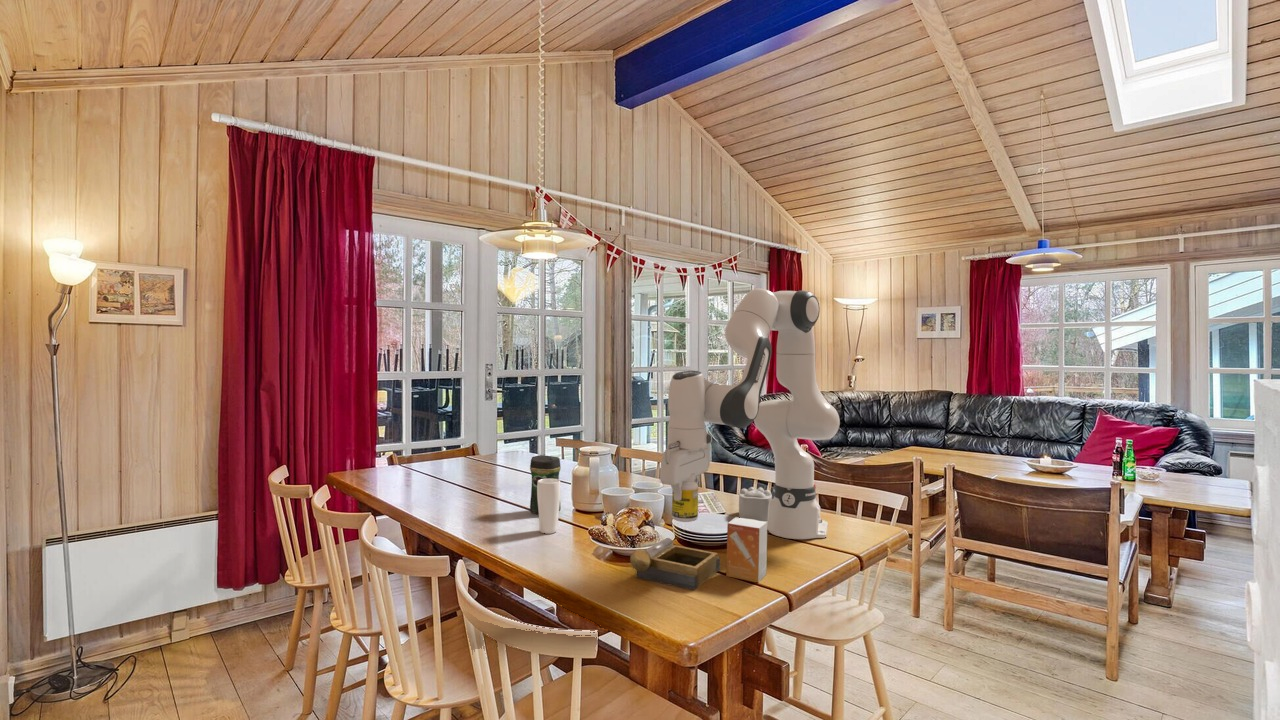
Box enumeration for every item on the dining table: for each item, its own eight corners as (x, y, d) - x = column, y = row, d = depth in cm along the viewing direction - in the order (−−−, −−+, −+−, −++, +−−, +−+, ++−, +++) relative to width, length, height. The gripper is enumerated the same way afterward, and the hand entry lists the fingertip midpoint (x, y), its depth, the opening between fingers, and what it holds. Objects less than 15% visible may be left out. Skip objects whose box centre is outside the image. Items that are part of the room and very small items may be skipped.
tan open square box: (662, 557, 160) (662, 531, 160) (719, 569, 152) (720, 541, 152) (630, 578, 146) (630, 548, 146) (691, 592, 138) (692, 561, 138)
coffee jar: (564, 511, 204) (564, 455, 204) (550, 517, 197) (551, 459, 197) (540, 507, 208) (540, 452, 208) (525, 513, 201) (526, 456, 201)
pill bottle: (667, 519, 148) (667, 473, 147) (679, 514, 153) (680, 469, 153) (690, 524, 144) (690, 476, 144) (702, 518, 149) (702, 472, 149)
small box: (725, 577, 148) (726, 522, 147) (735, 568, 153) (735, 516, 153) (758, 583, 144) (759, 527, 143) (767, 574, 149) (767, 521, 149)
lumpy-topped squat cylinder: (737, 519, 196) (738, 492, 196) (740, 509, 209) (740, 483, 209) (771, 522, 194) (771, 494, 194) (772, 511, 207) (772, 485, 206)
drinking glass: (562, 528, 185) (562, 478, 185) (557, 535, 178) (557, 483, 178) (540, 527, 186) (540, 477, 185) (534, 534, 179) (534, 482, 178)
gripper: (678, 446, 137) (678, 508, 138) (715, 435, 155) (714, 489, 156) (653, 443, 141) (653, 504, 141) (692, 433, 158) (691, 486, 159)
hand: (685, 496), depth 148 cm, fingers closed on pill bottle, 6 cm apart
